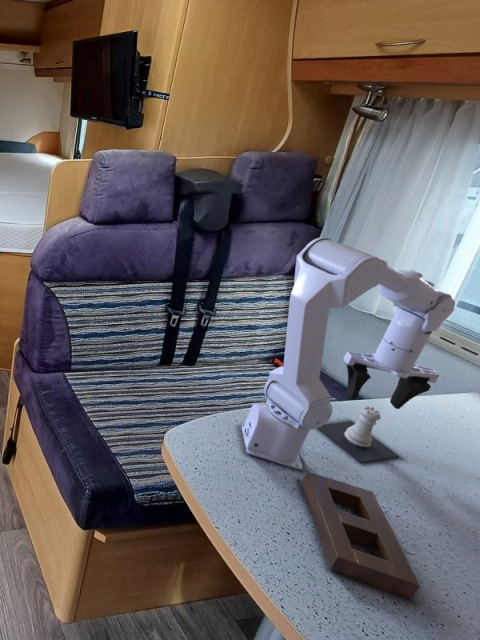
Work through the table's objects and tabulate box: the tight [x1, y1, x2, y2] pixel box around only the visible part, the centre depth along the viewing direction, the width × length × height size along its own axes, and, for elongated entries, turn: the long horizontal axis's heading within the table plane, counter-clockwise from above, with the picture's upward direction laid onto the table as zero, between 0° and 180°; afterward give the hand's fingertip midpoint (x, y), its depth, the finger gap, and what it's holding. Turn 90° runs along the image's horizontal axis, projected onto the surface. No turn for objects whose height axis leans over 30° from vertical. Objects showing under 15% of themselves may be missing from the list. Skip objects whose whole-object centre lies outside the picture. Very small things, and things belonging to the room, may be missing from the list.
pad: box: [317, 420, 400, 464], centre depth 96 cm, size 10×10×1 cm
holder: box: [300, 471, 421, 600], centre depth 75 cm, size 10×17×3 cm, turn 158°
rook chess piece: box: [344, 405, 382, 447], centre depth 95 cm, size 4×4×8 cm
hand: (372, 400), depth 93 cm, fingers open, 7 cm apart
